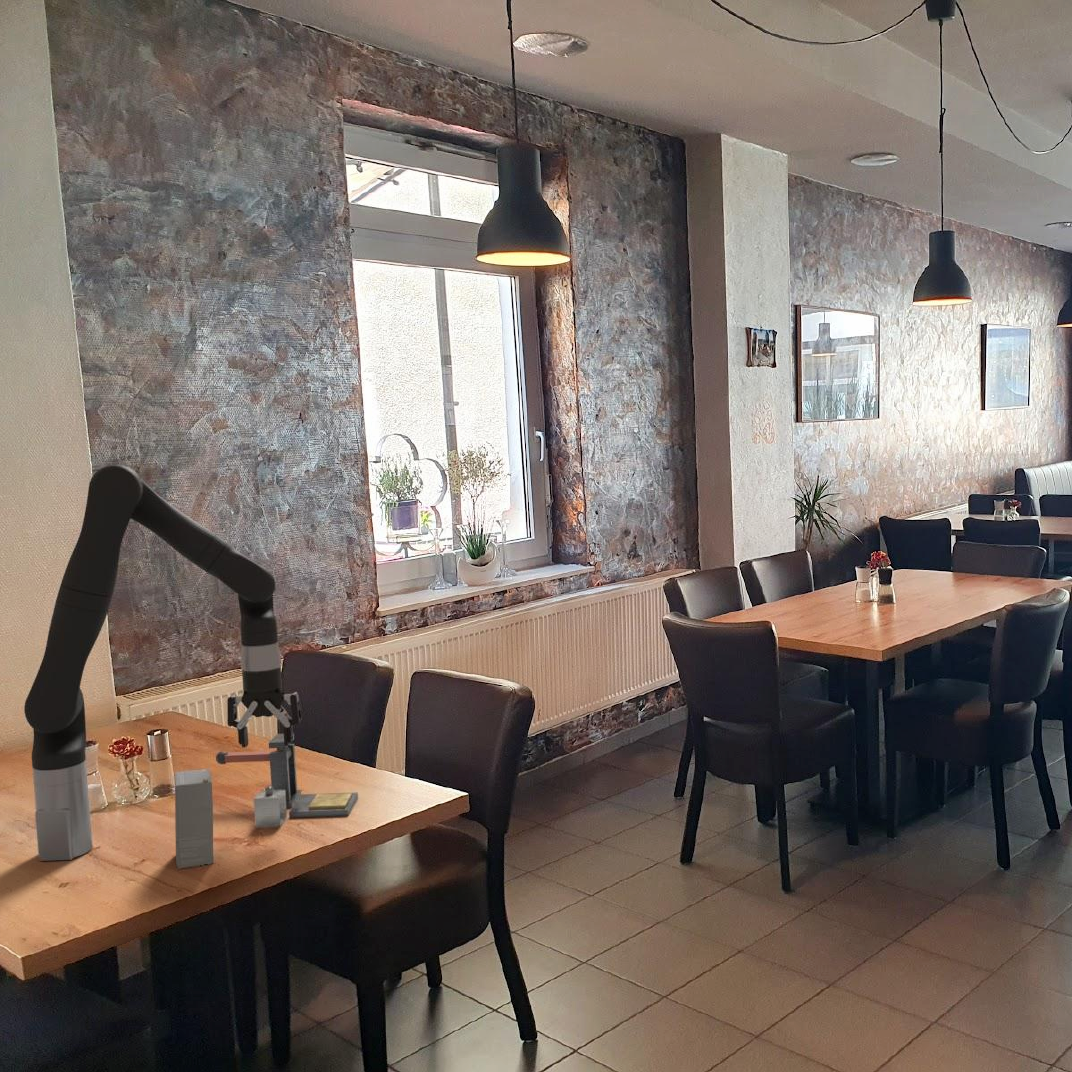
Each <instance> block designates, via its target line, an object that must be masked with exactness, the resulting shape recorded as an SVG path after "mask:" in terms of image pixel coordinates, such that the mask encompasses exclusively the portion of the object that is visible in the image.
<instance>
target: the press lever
mask: <svg viewBox="0 0 1072 1072" xmlns="http://www.w3.org/2000/svg"><path fill="white" fill-rule="evenodd" d="M287 751H288V759H289V757H290V756H291V753H292V752H291V749H290V748H289V747H286V748H280V749H279V750H278V751H277V750H261V751H260V750H259V751H258V750H257V751H256V750H255V751H237V752H236V751H235V752H234V751H231V752H227V751H225V750H221V751H219V752H218V753H216V755H215V761H216V762H217V763H218V764H219V765H226V764H228V763H229V764H230V763H250V762H251V763H253V762H254V763H255V762H270V756H269V753H270V752H287Z"/></svg>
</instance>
